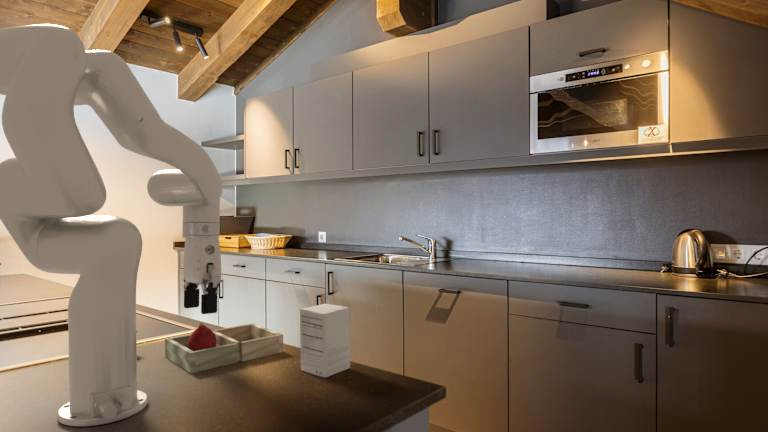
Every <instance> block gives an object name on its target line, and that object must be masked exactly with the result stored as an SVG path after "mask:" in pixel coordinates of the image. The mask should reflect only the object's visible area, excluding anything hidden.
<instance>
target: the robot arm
mask: <svg viewBox="0 0 768 432" xmlns="http://www.w3.org/2000/svg"><path fill="white" fill-rule="evenodd" d="M0 95H2V96H5V98H4V101H3V106H2V111H1V125H2V130H3V133H4V136H5V139H6V140H7V142H8V144H9V147H10V148H11V150H12V152H13V154H14V156H15V157H11V158H8V159H6V160H3V161H1V162H0V221H1V223H2V224H3V225H4V227H5V228H6V230H7V232H8V233H9V234H10V237H11V238H12V239H13V241H14V242H15V244H16V245H17V247H18V248H19V250H20V251H21V253H22V254H23V255H24V257H25V259H26V260H28V262H29V263H30V264H31V265H33V266H34V268H36V269H38V270H40V271H42V272H44V273H50V274H57V275H58V274H60V275H61V274H62V275H79V277H78V280H77V281H76V283H75V285H74V286H73V289H72V291H71V293H70V295H69V301H68V304H67V321H68V322H67V323H68V324H67V326H68V330H67V331H68V333H67V334H68V380H69V381H68V385H69V386H68V387H69V388H68V392H69V393H68V394H69V396H68V397H69V401H68V402H67V403H65V404H63V405H62V406H61V407H60V408H59V409H58V410H57V420H58V422H59V423H61V424H63V425H65V426H69V427H92V426H93V427H94V426H100V425H101V426H102V425H106V424H110V423H113V422H118V421H121V420H124V419H127V418H130V417H132V416H134V415H136V414H137V413H139V412H141V411H142V410H144V409H145V407H146V406H147V405H148V402H149V399H148V395H147V394H146V392H144V391H142V390H139V389H138V364H137V363H138V361H137V357H138V355H137V354H138V353H137V352H138V351H137V350H138V348H137V347H138V345H137V344H138V343H137V341H138V340H137V334H136V330H137V281H138V280H137V279H138V272H139V266H140V262H141V257H142V252H143V237H142V234H141V232H140V230H139V229H138V227H137V225H136V224H134V223H133V222H132V221H130V220H128V219H126V218H123V217H119V216H115V215H99V214H98V215H93V214H95V213H97V212H98V211H100V210H101V209H102V208H103V207H104V205H105V203H106V201H107V189H106V185H105V182H104V180H103V178H102V176H101V174H100V171H99V169H98V167H97V165H96V163H95V161H94V159H93V157H92V155H91V153H90V151H89V149H88V147H87V145H86V142H85V141H84V139H83V137H82V135H81V132H80V129H79V127H78V126H77V122H76V119H75V110H74V108H75V106H89V107H91V109H92V110H93V112H94V113H95V114H96V115H97V116H98V118H99V119H100V120H101V121H102V124H104V126H105V127H106V129H107V130H108V131H109V133H110V134H111V135H112V136H113V138H114V139H115V141H116V142H117V143H118V145H120V146H121V147H122V148H123V149H125V150H127V151H129V152H132V153H135V154H138V155H140V156H143V157H146V158H150V159H153V160H156V161H158V162H159V161H160V162H163V163H165V164H167V165H170V166H172V167H174V168H172V169H171V168H170V169H161V170H159V171H156V172H155V173H153V174H152V175H151V176H150V177H149V179H148V181H147V185H146V191H147V194H148V196H149V197H150V199H151V200H152V201H153V202H155V203H156V204H158V205H160V206H162V207H163V206H165V207H182V233H181V234H182V239H185V241H184V249H183V250H184V252H183V265H182V272H183V274H182V275H183V279H182V280H183V283H184V284H183V308H185V309H192V308H193V309H194V308H199V307H201V308H200V309H201V310H200V311H201V312H200V313H201V314H202V315H207V314H208V315H210V314H216V313H217V312H218V294H219V286H220V282H221V281H222V257H221V247H220V239H219V238H220V227H221V226H220V217H221V216H220V211H221V207H220V206H221V203H220V202H221V197H222V195H223V181H222V179H221V175H220V173H219V170H218V169H217V167H216V166H215V164H214V162H213V160H212V158H211V157H210V155H209V154H208V153H207V151H206V150H205V149H204V148H203V147H202V146H201V145H200V144H199V143H198V142H196V141H195V140H193V139H191V138H190V137H189V136H188V135H186V134H185V133H183V132H182V131H180V130H179V129H177V128H175V127H173V126H171V124H168V123H167V122H165V121H164V119H163V118H162V117H161V116H160V114H159V113H158V110H157V109H156V107H155V106H154V104H153V103H152V101H151V99H150V98H149V96H148V95H147V93H146V91H145V90H144V89H143V87H142V85H141V84H140V81H138V79H137V77H136V75H134V73H133V71H132V69H131V68H130V67H129V64H128V63H127V62H126V61H125V60H124V59H123V58H122V56H120V55H118V54H117V53H115V52H112V51H110V50H109V51H108V50H105V49H102V50H101V49H96V50H95V49H92V50H91V49H90V50H86V47H85V45H84V43H83V41H82V39H81V37H80V36H79V35H78V34H77V33H76V32H75V31H73V30H72V29H71V28H68V27H67V26H66V27H65V26H63V25H58V24H52V23H51V24H50V23H39V24H38V23H37V24H27V25H16V26H10V27H1V28H0ZM199 286H200V287H201V290H202V293H203V294H200V288H199ZM200 295H201V297H200ZM200 298H201V301H200ZM200 302H201V303H200Z"/></svg>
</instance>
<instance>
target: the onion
mask: <svg viewBox="0 0 768 432" xmlns="http://www.w3.org/2000/svg"><path fill="white" fill-rule="evenodd" d="M212 331H213V330H212V329H211V328H210V327H207V326H206V325H205V324H204V322H199V326H198V327H197V328H195V330H194V331H192V333H190V334H191V335H190V338H189V340H188V348H189V349H190V350H192V351H198V350H203V349H208V348H213V347H216V342H217V341H216V336H215V334H214V333H213V332H212Z"/></svg>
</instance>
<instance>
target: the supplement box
mask: <svg viewBox="0 0 768 432" xmlns="http://www.w3.org/2000/svg"><path fill="white" fill-rule="evenodd" d="M299 321H300V322H299V328H300V331H299V332H300V333H299V335H300V336H299V338H300V370H301V371H302V372H306V373H307V374H312V375H315V376H317V377H321V378H325V379H326V378H328V377H330V376H333V375H336V374H338V373H341V372H343V371H346V370H349V369H351V340H350V339H351V338H350V337H351V334H350V330H351V329H350V328H351V323H350V307H348V306H343V305H336V304H330V303H322V304H317V305H313V306H309V307H304V308H299Z"/></svg>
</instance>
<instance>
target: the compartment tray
mask: <svg viewBox="0 0 768 432" xmlns="http://www.w3.org/2000/svg"><path fill="white" fill-rule="evenodd" d="M211 331H212V332H213V333H214V334H215V336H216V341H217V342H216V347H213V348H208V349H203V350H198V351H192V350H190V349H189V348H188V340H189V338H190V335H191V334H192V333H189V334H184V335H179V336H174V337H168V338H164V358H166V359H168V360H170V361H171V362H173V363H174V364H175V365H177V366H178V367H180V368H182V369H183V370H185V371H186V372H187V373H189V374H195V373H198V372H202V371H206V370H212V369H216V368H220V367H224V366H229V365H232V364H237V363H239V362H240V361H241V362H246V361H247V362H248V361H252V360H254V359H255V360H256V359H259V358H263V357H269V356H272V355H276V354H282V353H284V334H282V333H280V332H277V331H274V330H271V329H269V328H266V327H264V326H261V325H258V324H255V323H253V322H252V323H247V324H242V325H236V326H229V327H224V328H218V329H213V330H211Z"/></svg>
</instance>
